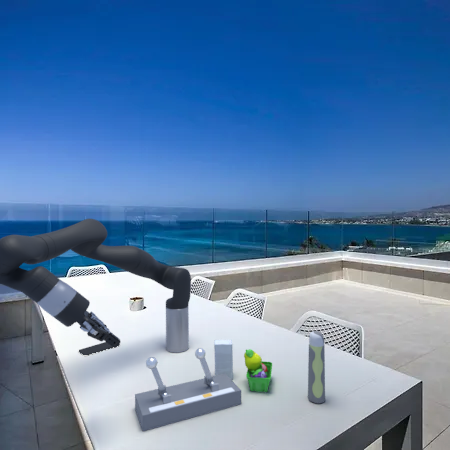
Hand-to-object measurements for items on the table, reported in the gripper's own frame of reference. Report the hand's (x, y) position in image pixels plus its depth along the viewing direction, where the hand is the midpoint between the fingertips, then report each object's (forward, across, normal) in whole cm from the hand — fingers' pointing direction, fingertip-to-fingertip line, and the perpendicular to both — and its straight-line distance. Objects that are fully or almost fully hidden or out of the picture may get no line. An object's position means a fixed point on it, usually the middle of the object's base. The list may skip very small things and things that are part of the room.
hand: (117, 343), depth 84 cm
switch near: (+20, 0, +3) cm, 20 cm away
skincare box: (+40, +11, -10) cm, 43 cm away
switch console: (+28, 0, +2) cm, 28 cm away
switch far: (+30, 0, -7) cm, 31 cm away
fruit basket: (+46, +2, -15) cm, 48 cm away
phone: (+15, +55, +16) cm, 59 cm away
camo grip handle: (+53, -14, -23) cm, 60 cm away
